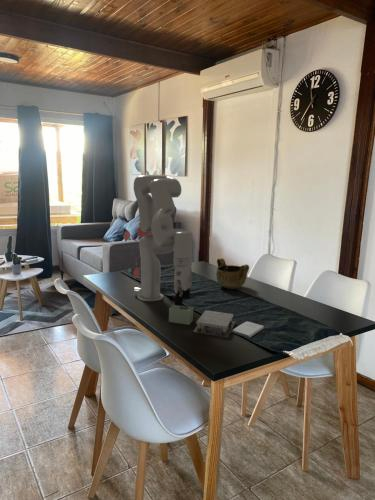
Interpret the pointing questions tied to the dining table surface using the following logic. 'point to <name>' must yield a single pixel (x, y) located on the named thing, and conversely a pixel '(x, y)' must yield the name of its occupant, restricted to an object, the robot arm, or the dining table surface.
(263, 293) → the dining table surface
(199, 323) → the chassis
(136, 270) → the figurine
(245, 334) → the external hard drive
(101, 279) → the dining table surface
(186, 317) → the pale green block
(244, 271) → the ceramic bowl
